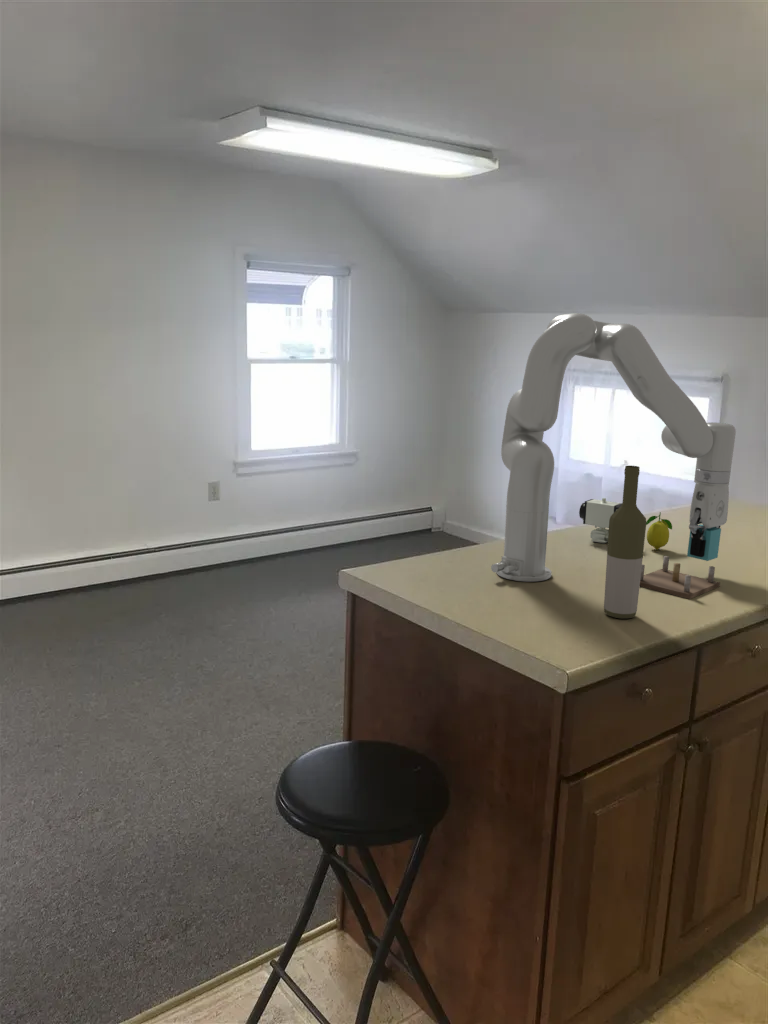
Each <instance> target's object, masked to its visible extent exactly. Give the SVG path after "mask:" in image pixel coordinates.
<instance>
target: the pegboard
mask: <svg viewBox="0 0 768 1024" xmlns="http://www.w3.org/2000/svg"><path fill="white" fill-rule="evenodd" d="M662 560H663V562H662V568H659V569H658V570H655V571H652V572H649V573H647V574H645V564H643V563H642V568H641V578H640V587H641V588H645V589H649V590H653V591H656V592H661V593H665V594H667V595H673V596H676V597H680V598H683V599H688V600H691V599H693V598H695V597H697V596H700V595H703V594H705V593H707V592H710V591H713V590H715V589H718V588H719V587H720V585H721V582H720V581H717V580H715V571H716V567H715V566H713V565H712V566H711V565H710V566H709V567H708V573H707V574H708V575H707V576H708V577H707V578H703V577H700V576H695V575H690V574H687V573H682V572H681V563H679V562H674V563H673V568H672V569H673V570H669V564H670V556H667V555H664V556H663V559H662Z"/></svg>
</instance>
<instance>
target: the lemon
mask: <svg viewBox="0 0 768 1024" xmlns="http://www.w3.org/2000/svg"><path fill="white" fill-rule="evenodd" d="M661 514H662V513H661V512H659V515H658V516H656V515H652V516H650V517H648V518H647V519H646V526H647V525H649V524H650V523H651V522H653V521H654V520H656V519H657V518H658V520H657V521H655V522H653V523H652V524H650V526H649V527H648V530H647V533H646V541H647V543H648V545H650V546H651V547H653V548H654V549H655V550H659V549H661V548H663V547H666V546H667V544H668V542H669V539H670V530H673V524H672V522H671V521H670V520H669V519H665V518H661ZM669 529H670V530H669Z"/></svg>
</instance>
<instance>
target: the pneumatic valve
mask: <svg viewBox="0 0 768 1024" xmlns="http://www.w3.org/2000/svg"><path fill="white" fill-rule="evenodd" d="M621 505H622V502H616V501H615V502H614V501H608V500H607V498H606V497H602V499H595V498H591V499H588V500H585V501H584V502H582V503H581V504H580V507H579V512H578V513H579V514H578V516H579V518H580V519H582V521H583V522H582V524H583V525H587V526H594V528H595V529H592V530H591V531H590V535H589V536H590V539H591V542H592V543H598V544H602V545H604V544H606V543H608V533H609V520H610V517H611V515H612V514H613V513H614V512H615V511H616V510H617V509H618V508H620V507H621Z"/></svg>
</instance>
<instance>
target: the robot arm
mask: <svg viewBox="0 0 768 1024" xmlns="http://www.w3.org/2000/svg"><path fill="white" fill-rule="evenodd" d="M575 356H579V357H582V358H583V357H584V358H589V359H594V360H600V361H605V362H606V361H607V362H611V363H612V365H613V366H614V367H615V368H616V370H617V372H618V373H619V375H620V377H621V378H622V380H623V381H624V384H625V385H627V387H628V389H629V390H630V392H631V394H632V396H633V397H634V398H635V399H636V400H637V401H638V402H639V403H640V404H641V405H643V406H644V407H645V408H646V409H648V410H649V411H651V412H652V413H654V414H655V415H656V416H657V417H658V418H659V419H660V420H661V421H662V422H663V423H664V425H665V426H664V427H663V429H662V431H661V438H660V439H661V442H662V444H663V446H665V448H666V449H668V450H669V451H670V452H673V453H675V454H679V455H682V456H684V457H688V458H692V459H696V464H695V472H694V480H693V482H694V483H695V485H694V488H693V489H694V490H693V494H692V497H691V498H692V499H691V503H690V504H691V505H690V508H689V509H690V510H689V525H688V529H689V532H690V531H691V538H692V540H691V548H690V554H691V555H694V556H699V557H703V556H704V552H705V544H706V540H704V538H705V534H706V530H707V528H709V529H710V528H714V527H716V528H722V527H721V526H723V525H725V524H726V523H727V521H728V512H729V498H730V497H729V495H730V491H729V490H730V489H729V488H730V486H729V485H730V480H731V473H732V472H731V471H732V464H733V456H734V449H735V442H736V441H735V439H736V432H737V431H736V430H737V429H736V428H735V426H734V425H732V424H730V423H727V422H726V423H724V422H707V421H706V419H705V418H704V416H703V415H702V413H701V412H700V410H699V409H698V407H697V406H696V404H695V403H694V402H693V401H692V400H691V398H690V397H689V396H688V395H687V394H686V393H685V392H684V391H683V389H681V388H680V386H679V385H678V384H677V383H676V382H675V381H674V379H672V378H671V376H670V375H669V373H668V372H667V370H666V369H665V367H664V366H663V364H662V363H661V361H660V360H659V358H658V356H657V355H656V353H655V352H654V350H653V349H652V347H651V345H650V344H649V342H648V341H647V339H646V337H645V336H644V334H643V333H642V331H641V330H640V329H639V328H637V326H635V325H633V324H630V323H611V322H610V323H609V322H603V321H598V320H594V319H592V318H591V316H589V315H587V314H585V313H579V312H578V313H577V312H575V313H574V312H573V313H565V314H564V313H563V314H560V315H557V316H556V317H555V316H554V318H552V319H551V321H550V322H549V323H548V325H547V327H546V329H545V330H544V332H542V334H540V336H539V337H538V338H537V339H536V340H535V342H534V344H533V345H532V347H531V349H530V351H529V354H528V357H527V361H526V365H525V370H524V374H523V375H524V376H523V379H522V385H521V389H518V390H517V391H516V392H515V393H513V395H512V396H511V398H510V400H509V402H508V405H507V408H506V413H505V421H504V426H503V432H502V433H503V434H502V440H501V441H502V442H501V451H500V453H501V455H500V456H501V460H502V462H503V465H504V466H505V467H506V468H507V469H508V470H509V480H508V484H507V485H508V486H507V492H506V504H505V505H506V506H505V507H506V509H505V511H506V512H505V525H504V527H505V528H504V543H503V544H504V546H503V548H504V549H503V556H501V560H500V561H499V562H496V563H493V564H492V565H491V566H490V567H491V568H490V569H491V571H492V572H493V573H496V574H497V575H498V576H499V577H501V578H503V579H507V580H511V581H515V582H528V583H530V582H531V583H532V582H543V581H546V580H548V579H550V578H551V577H552V573H553V571H552V570H551V569H550V568H549V567H547V566H546V560H547V559H546V557H547V542H548V540H547V539H548V528H549V527H548V526H549V515H550V514H549V512H550V496H551V487H552V482H553V476H554V471H555V457H554V454H553V451H552V449H551V448H550V446H549V445H548V444H547V443H545V441H544V440H543V439H544V432H546V431H548V430H551V429H552V427H553V426H554V425H555V424H556V421H557V419H558V415H559V408H560V407H559V406H560V400H561V393H562V386H563V382H564V377H565V372H566V369H567V366H568V365H569V363H570V362H571V360H572V359H573V358H574V357H575ZM700 524H701V525H703V526H700ZM698 528H700V529H702V532H701V531H700V530H699V529H698Z"/></svg>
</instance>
